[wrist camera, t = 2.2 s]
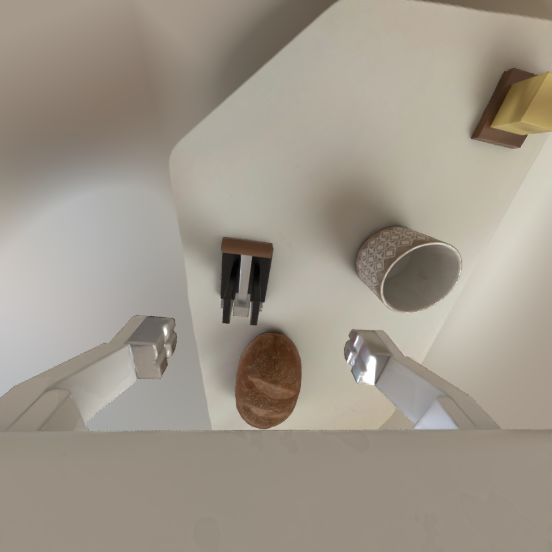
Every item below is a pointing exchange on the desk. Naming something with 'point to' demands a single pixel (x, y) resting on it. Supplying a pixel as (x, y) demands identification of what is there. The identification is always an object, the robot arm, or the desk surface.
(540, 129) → the butter
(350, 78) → the desk surface
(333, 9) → the desk surface
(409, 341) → the desk surface
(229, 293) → the slicer
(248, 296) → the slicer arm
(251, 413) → the bread
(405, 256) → the planter
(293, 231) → the desk surface
